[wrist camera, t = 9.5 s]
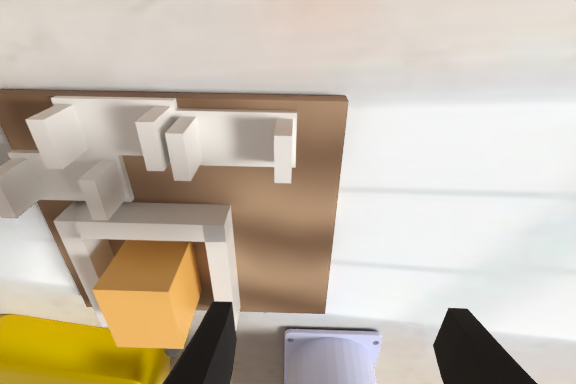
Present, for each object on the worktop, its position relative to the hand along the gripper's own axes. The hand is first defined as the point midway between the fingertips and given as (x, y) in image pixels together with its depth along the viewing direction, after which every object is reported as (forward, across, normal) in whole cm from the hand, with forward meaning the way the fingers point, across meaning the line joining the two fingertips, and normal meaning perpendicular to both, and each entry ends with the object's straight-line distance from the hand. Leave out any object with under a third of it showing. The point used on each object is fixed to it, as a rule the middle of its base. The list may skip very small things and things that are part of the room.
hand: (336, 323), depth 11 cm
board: (+10, +8, +3) cm, 13 cm away
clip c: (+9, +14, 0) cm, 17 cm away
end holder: (+9, +10, +6) cm, 15 cm away
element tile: (+10, +21, +22) cm, 32 cm away
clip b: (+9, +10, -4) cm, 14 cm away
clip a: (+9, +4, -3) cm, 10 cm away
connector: (+9, +10, +9) cm, 16 cm away
